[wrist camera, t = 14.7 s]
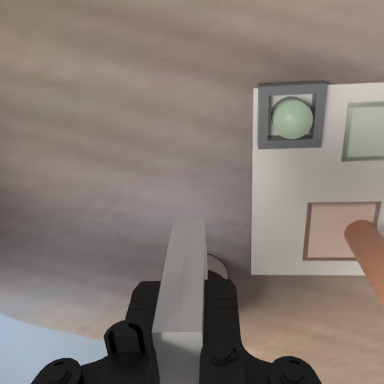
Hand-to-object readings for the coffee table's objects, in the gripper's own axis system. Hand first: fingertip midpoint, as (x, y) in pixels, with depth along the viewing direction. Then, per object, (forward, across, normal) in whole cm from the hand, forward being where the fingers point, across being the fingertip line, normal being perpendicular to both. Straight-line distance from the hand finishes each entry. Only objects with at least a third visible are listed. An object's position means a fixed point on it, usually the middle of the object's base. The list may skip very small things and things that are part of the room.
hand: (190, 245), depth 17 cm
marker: (+27, +20, -17) cm, 37 cm away
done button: (+28, +10, -1) cm, 30 cm away
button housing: (+27, +10, -1) cm, 29 cm away
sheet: (+27, +15, -11) cm, 33 cm away
